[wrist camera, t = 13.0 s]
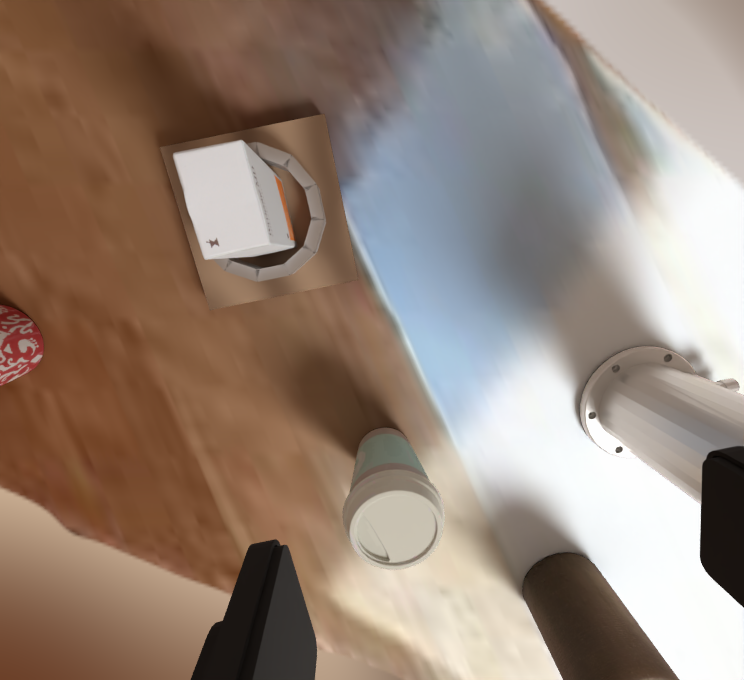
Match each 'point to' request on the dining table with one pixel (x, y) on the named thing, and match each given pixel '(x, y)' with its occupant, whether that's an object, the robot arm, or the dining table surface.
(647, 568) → the dining table surface
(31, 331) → the mug
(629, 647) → the pillar candle
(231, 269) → the ring stand
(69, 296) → the dining table surface
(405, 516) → the coffee cup
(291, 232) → the skincare box
